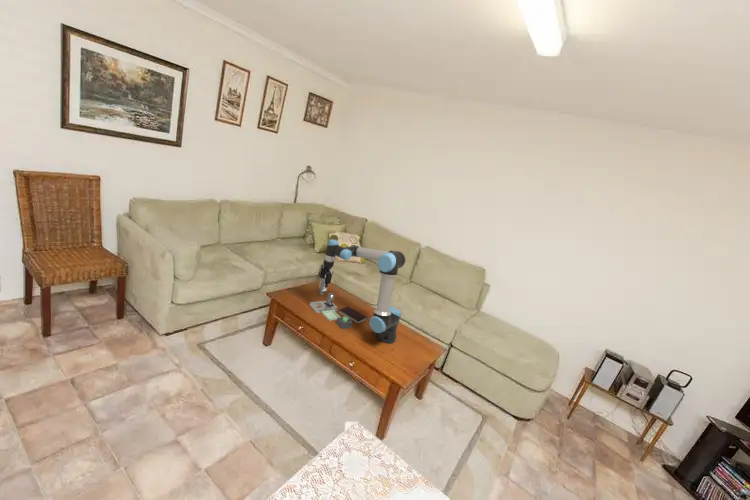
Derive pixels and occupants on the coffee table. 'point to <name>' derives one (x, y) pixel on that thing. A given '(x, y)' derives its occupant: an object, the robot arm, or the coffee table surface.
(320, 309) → the pallet
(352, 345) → the coffee table surface
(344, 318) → the button
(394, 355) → the coffee table surface
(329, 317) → the green plate
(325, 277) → the billet
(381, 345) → the coffee table surface
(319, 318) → the coffee table surface
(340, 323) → the console
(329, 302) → the seated billet
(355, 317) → the book
